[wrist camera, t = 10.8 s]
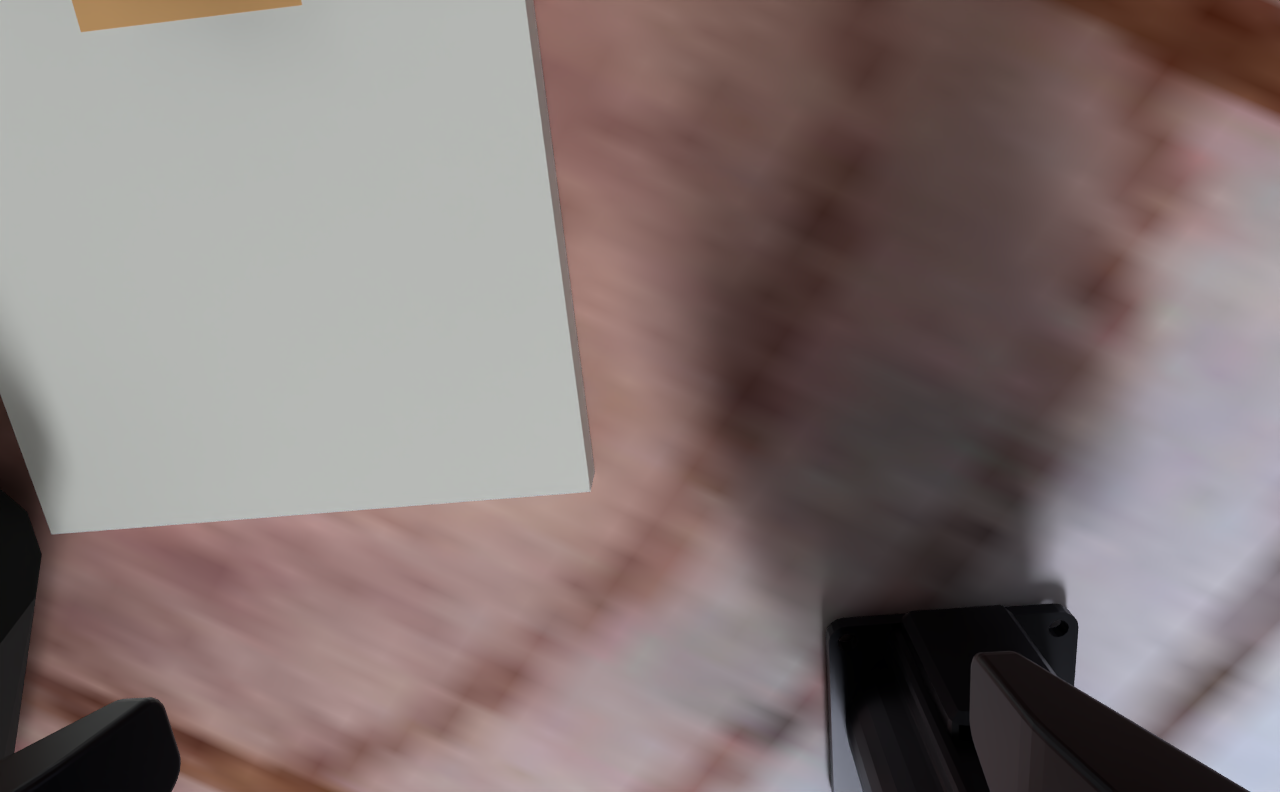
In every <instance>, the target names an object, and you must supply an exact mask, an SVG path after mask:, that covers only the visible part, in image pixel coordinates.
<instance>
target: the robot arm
mask: <svg viewBox="0 0 1280 792" xmlns="http://www.w3.org/2000/svg"><path fill="white" fill-rule="evenodd" d="M1058 620H1061V623H1060V624H1059V625H1058V626H1057V627H1054V628H1049V627H1050V625H1051V624H1052V623H1053V622H1055V621H1058ZM846 634H849V635H853V637H852V638H851V639H850V640H849V641H846V642H843V641H839V638H840V637H841V636H843V635H846ZM1077 639H1078V622H1077V620H1076V619H1075V617H1074V616H1073V615H1072V614H1071V613H1070V611H1069V610H1068V609H1067V608H1066V607H1064V606H1062V605H1060V604H1041V605H1027V606H1012V607H1004V606H1001V605H995V606H980V607H965V608H950V609H936V610H921V611H911V612H909V613H907V614H893V615H878V616H863V617H848V618H841V619H837V620H835V621H834V622H832V623H831V624H830V625H829V627H828V628H827V632H826V652H827V679H828V707H829V734H830V761H831V789H832V792H1250V791H1248V790H1246V789H1244V788H1243V787H1241V786H1239V785H1238V784H1236V783H1234V782H1233V781H1231V780H1229V779H1228V778H1226V777H1224V776H1223V775H1221V774H1219V773H1218V772H1216V771H1214V770H1213V769H1211V768H1209V767H1208V766H1206V765H1204V764H1203V763H1201V762H1199V761H1198V760H1196V759H1194V758H1193V757H1191V756H1189V755H1188V754H1186V753H1184V752H1183V751H1181V750H1179V749H1178V748H1176V747H1174V746H1173V745H1171V744H1169V743H1168V742H1166V741H1164V740H1163V739H1161V738H1159V737H1158V736H1156V735H1154V734H1153V733H1151V732H1149V731H1148V730H1146V729H1144V728H1143V727H1141V726H1139V725H1138V724H1136V723H1134V722H1132V721H1131V720H1129V719H1127V718H1126V717H1124V716H1122V715H1121V714H1119V713H1117V712H1116V711H1114V710H1112V709H1111V708H1109V707H1107V706H1106V705H1104V704H1102V703H1101V702H1099V701H1097V700H1096V699H1094V698H1092V697H1091V696H1089V695H1087V694H1086V693H1084V692H1082V691H1081V690H1079V689H1077V688H1076V687H1074V679H1075V665H1076V652H1077ZM180 764H181V762H180V753H179V750H178V747H177V744H176V741H175V738H174V735H173V732H172V728H171V725H170V722H169V719H168V716H167V713H166V710H165V708H164V705H163V704H162V703H161V702H160V701H159V700H158V699H155V698H152V697H149V698H130V699H121V700H117V701H115V702H113V703H111V704H109V705H107V706H105V707H103V708H101V709H99V710H97V711H95V712H93V713H91V714H89V715H87V716H86V717H84V718H82V719H80V720H78V721H76V722H74V723H72V724H70V725H68V726H66V727H64V728H62V729H60V730H58V731H56V732H55V733H53V734H51V735H49V736H47V737H45V738H43V739H41V740H39V741H37V742H35V743H33V744H31V745H29V746H27V747H26V748H24V749H22V750H20V751H18V752H16V753H14V754H12V755H10V756H8V757H6V758H4V759H2V760H0V792H172V790H173V788H174V786H175V784H176V781H177V779H178V775H179V772H180Z"/></svg>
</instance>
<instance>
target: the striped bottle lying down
mask: <svg viewBox="0 0 1280 792" xmlns="http://www.w3.org/2000/svg"><path fill="white" fill-rule="evenodd" d="M41 555H42V554H41V551H40V548H39V545H38V542H37V539H36V536H35V533H34V531H33V528H32V525H31V522H30V519H29V516H28V513H27V511H25V510H24V509H23V508H22V507H21V506H20V505H18V504H17V503H16V502H15V501H14V500H13V499H11V498H10V497H9V496H8V495H7V494H5V493H4V492H3V491H2V490H1V489H0V760H2V759H4V758H6V757H8V756H10V755H12V754H14V750H15V743H16V736H17V729H18V721H19V714H20V707H21V700H22V693H23V685H24V678H25V671H26V664H27V656H28V649H29V642H30V635H31V628H32V620H33V613H34V606H35V599H36V591H37V584H38V577H39V570H40V563H41Z"/></svg>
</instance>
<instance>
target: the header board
mask: <svg viewBox="0 0 1280 792" xmlns="http://www.w3.org/2000/svg"><path fill="white" fill-rule="evenodd" d="M0 395H1V398H2V400H3V403H4V406H5V408H6V411H7V414H8V417H9V419H10V422H11V425H12V428H13V430H14V433H15V436H16V439H17V441H18V444H19V447H20V450H21V452H22V455H23V458H24V460H25V463H26V466H27V469H28V471H29V474H30V477H31V480H32V482H33V485H34V488H35V491H36V493H37V496H38V499H39V502H40V504H41V507H42V510H43V512H44V515H45V518H46V521H47V523H48V526H49V529H50V532H51V534H63V533H76V532H88V531H101V530H114V529H126V528H139V527H151V526H164V525H177V524H189V523H202V522H215V521H227V520H240V519H252V518H265V517H278V516H290V515H303V514H316V513H328V512H341V511H353V510H366V509H379V508H391V507H404V506H416V505H429V504H442V503H454V502H467V501H480V500H492V499H505V498H517V497H530V496H543V495H555V494H568V493H580V492H591V487H592V483H593V478H594V474H595V469H594V462H593V454H592V446H591V439H590V431H589V423H588V416H587V408H586V400H585V393H584V385H583V377H582V370H581V362H580V354H579V346H578V339H577V331H576V323H575V316H574V308H573V300H572V293H571V285H570V277H569V270H568V262H567V254H566V247H565V239H564V231H563V224H562V216H561V208H560V201H559V193H558V185H557V177H556V170H555V162H554V154H553V147H552V139H551V131H550V124H549V116H548V108H547V101H546V93H545V85H544V78H543V70H542V62H541V55H540V47H539V39H538V32H537V24H536V16H535V8H534V1H533V0H0Z"/></svg>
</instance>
